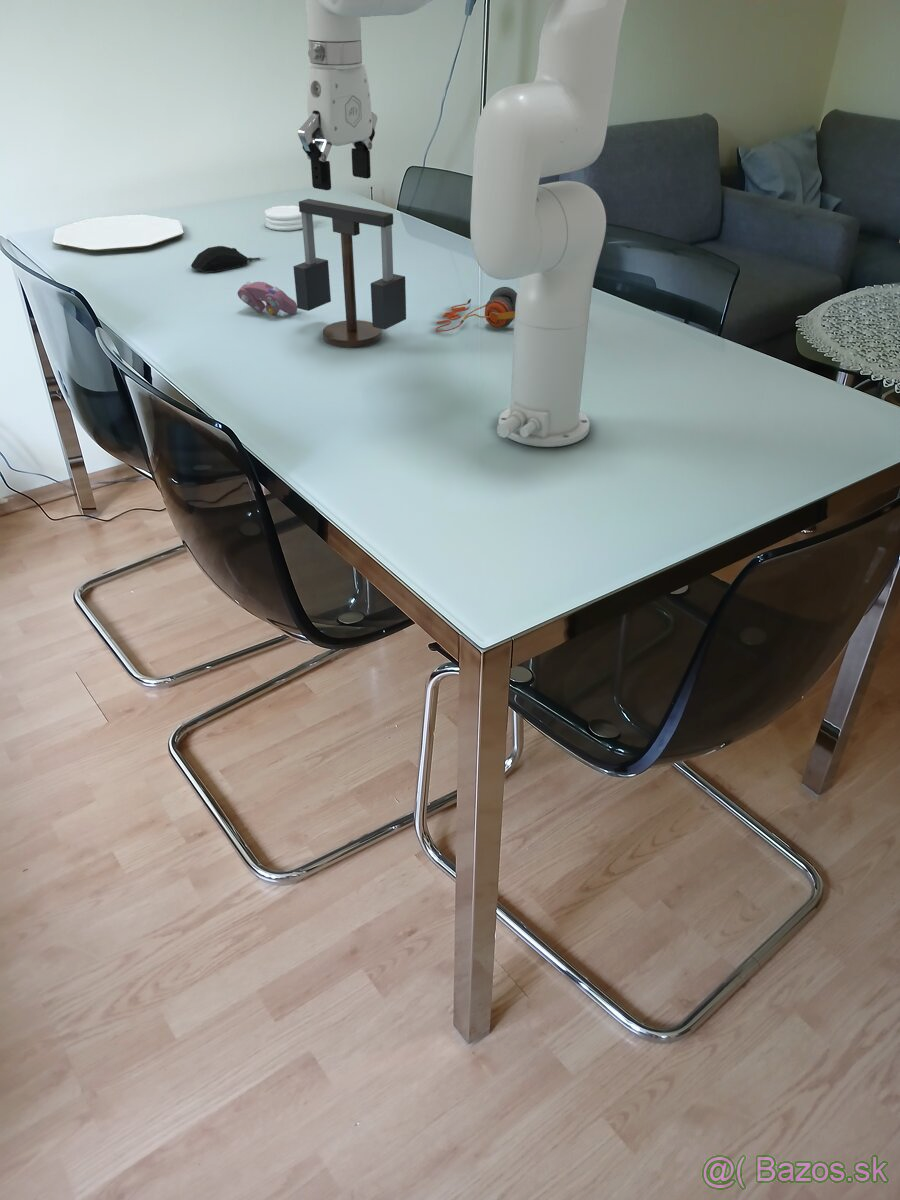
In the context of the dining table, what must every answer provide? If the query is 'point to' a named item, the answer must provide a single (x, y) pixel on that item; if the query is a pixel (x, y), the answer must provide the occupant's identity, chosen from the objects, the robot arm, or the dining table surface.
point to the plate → (117, 232)
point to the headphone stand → (349, 298)
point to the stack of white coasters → (283, 218)
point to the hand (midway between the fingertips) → (342, 182)
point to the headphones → (489, 309)
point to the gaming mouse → (219, 259)
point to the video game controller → (266, 298)
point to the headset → (315, 271)
